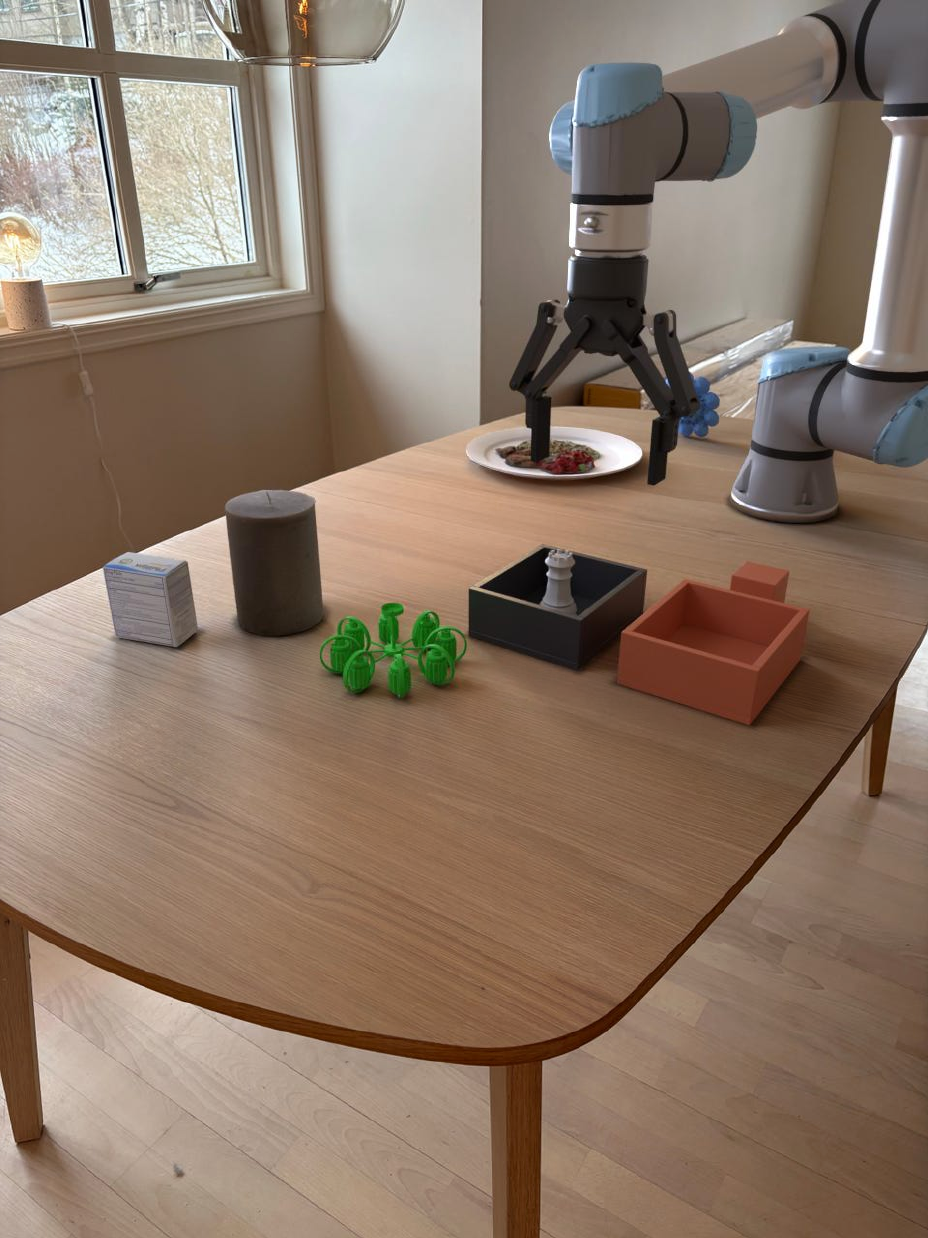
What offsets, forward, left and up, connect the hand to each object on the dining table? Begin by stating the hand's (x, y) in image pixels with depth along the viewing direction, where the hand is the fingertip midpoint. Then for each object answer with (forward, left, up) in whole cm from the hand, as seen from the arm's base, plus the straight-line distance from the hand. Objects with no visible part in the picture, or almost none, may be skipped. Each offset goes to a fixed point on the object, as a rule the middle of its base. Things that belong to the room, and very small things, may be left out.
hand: (596, 470), depth 99 cm
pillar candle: (+18, -29, -18) cm, 39 cm away
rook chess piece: (+3, -2, -17) cm, 18 cm away
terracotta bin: (+2, +16, -18) cm, 24 cm away
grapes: (-79, -21, -18) cm, 83 cm away
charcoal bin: (+2, -2, -18) cm, 18 cm away
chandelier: (+20, -11, -18) cm, 29 cm away
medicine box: (+29, -37, -18) cm, 51 cm away
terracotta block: (-14, +15, -18) cm, 27 cm away
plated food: (-53, -34, -18) cm, 65 cm away
